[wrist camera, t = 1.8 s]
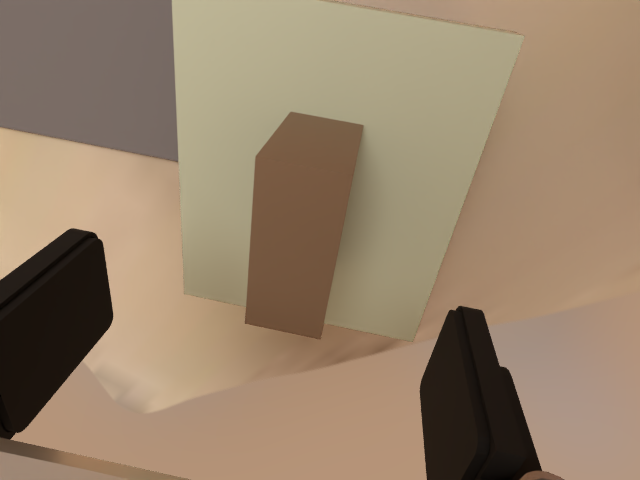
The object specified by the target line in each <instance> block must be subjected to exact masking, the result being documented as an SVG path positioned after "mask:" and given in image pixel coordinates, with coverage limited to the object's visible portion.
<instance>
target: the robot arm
mask: <svg viewBox="0 0 640 480" xmlns="http://www.w3.org/2000/svg"><path fill="white" fill-rule="evenodd" d="M112 320H113V309H112V302H111V295H110V289H109V282H108V275H107V268H106V261H105V254H104V247H103V242H102V241H101V240H100V239H98V237H97V235H96V234H95V233H93V232H89V231H84V230H79V229H69V230H67V231H66V232H65V233H63V234H62V235H61V236H59V237H58V238H57V239H55V240H54V241H52V242H51V243H50V244H48V245H47V246H46V247H44V248H43V249H42V250H40V251H39V252H38V253H36V254H35V255H34V256H32V257H31V258H30V259H28V260H27V261H26V262H24V263H23V264H22V265H20V266H19V267H18V268H16V269H15V270H14V271H12V272H11V273H10V274H8V275H7V276H5V277H4V278H3V279H1V280H0V480H189V479H185V478H181V477H176V476H172V475H167V474H163V473H159V472H154V471H150V470H145V469H141V468H136V467H132V466H127V465H122V464H118V463H114V462H109V461H104V460H100V459H96V458H91V457H87V456H82V455H77V454H73V453H68V452H64V451H59V450H54V449H49V448H45V447H41V446H36V445H32V444H27V443H23V442H18V441H13V440H10V439H11V438H12V437H13V436H14V435H15V433H16V432H17V433H19V432H21V431H23V430H24V429H25V428H26V427H27V426H28V425H29V424H30V423H31V421H32V420H33V419H34V418H35V417H36V415H37V414H38V413H39V412H40V411H41V409H42V408H43V407H44V406H45V405H46V403H47V402H48V401H49V400H50V399H51V397H52V396H53V395H54V393H56V391H57V390H58V389H59V388H60V386H61V385H62V384H63V383H64V382H65V380H66V379H67V378H68V377H69V376H70V374H71V373H72V372H73V371H74V369H75V368H76V367H77V366H78V365H79V364H80V362H81V361H82V360H83V359H84V358H85V356H86V355H87V354H88V353H89V352H90V350H91V349H92V348H93V347H94V345H95V344H96V343H97V342H98V341H99V339H100V338H101V337H102V336H103V335H104V333H105V332H106V331H107V330H108V329H109V327H110V325H111V323H112ZM420 400H421V413H422V425H423V437H424V449H425V462H426V473H427V480H564V479H562V478H561V477H559V476H556V475H554V474H551V473H549V472H544V471H542V469H541V466H540V463H539V460H538V457H537V454H536V450H535V448H534V444H533V441H532V438H531V435H530V432H529V429H528V426H527V423H526V420H525V416H524V413H523V410H522V407H521V404H520V401H519V398H518V395H517V392H516V389H515V386H514V382H513V379H512V376H511V374H510V372H509V370H508V369H507V368H505V367H500V366H499V363H498V359H497V356H496V353H495V350H494V346H493V343H492V339H491V336H490V333H489V330H488V326H487V323H486V319H485V316H484V313H483V311H482V310H478V309H473V308H468V307H463V306H459V307H458V308H457V309H456V311H455V310H450V311H449V312H448V314H447V317H446V319H445V322H444V324H443V327H442V329H441V332H440V334H439V337H438V340H437V342H436V345H435V347H434V350H433V352H432V355H431V357H430V360H429V362H428V365H427V367H426V370H425V372H424V375H423V378H422V381H421V385H420Z"/></svg>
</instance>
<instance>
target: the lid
mask: <svg viewBox="0 0 640 480" xmlns="http://www.w3.org/2000/svg"><path fill="white" fill-rule="evenodd" d="M172 18H173V42H174V66H175V90H176V113H177V137H178V161H179V184H180V208H181V232H182V256H183V279H184V294H186V295H191V296H196V297H201V298H205V299H210V300H215V301H220V302H224V303H229V304H234V305H239V306H243V307H246V316H245V324H250V325H255V326H259V327H264V328H269V329H273V330H278V331H283V332H288V333H292V334H297V335H302V336H306V337H311V338H316V339H321V335H322V330H323V325H324V324H329V325H334V326H338V327H343V328H348V329H353V330H357V331H362V332H367V333H371V334H376V335H381V336H386V337H390V338H395V339H400V340H405V341H409V342H413V340H414V338H415V335H416V332H417V329H418V327H419V324H420V321H421V319H422V316H423V313H424V310H425V308H426V305H427V302H428V299H429V297H430V294H431V291H432V289H433V286H434V283H435V280H436V278H437V275H438V272H439V269H440V267H441V264H442V261H443V258H444V256H445V253H446V250H447V248H448V245H449V242H450V239H451V237H452V234H453V231H454V228H455V226H456V223H457V220H458V218H459V215H460V212H461V209H462V207H463V204H464V201H465V198H466V196H467V193H468V190H469V187H470V185H471V182H472V179H473V177H474V174H475V171H476V168H477V166H478V163H479V160H480V157H481V155H482V152H483V149H484V147H485V144H486V141H487V138H488V136H489V133H490V130H491V127H492V125H493V122H494V119H495V116H496V114H497V111H498V108H499V106H500V103H501V100H502V97H503V95H504V92H505V89H506V86H507V84H508V81H509V78H510V76H511V73H512V70H513V67H514V65H515V62H516V59H517V56H518V54H519V51H520V48H521V45H522V43H523V40H524V37H525V36H524V35H521V34H519V33H517V32H513V31H507V30H501V29H495V28H489V27H484V26H478V25H472V24H466V23H460V22H454V21H449V20H443V19H437V18H431V17H425V16H419V15H414V14H408V13H402V12H396V11H390V10H385V9H379V8H373V7H367V6H361V5H355V4H350V3H344V2H338V1H332V0H172Z"/></svg>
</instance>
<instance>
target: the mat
mask: <svg viewBox="0 0 640 480" xmlns="http://www.w3.org/2000/svg"><path fill="white" fill-rule="evenodd" d="M0 127H4V128H9V129H14V130H19V131H24V132H30V133H35V134H40V135H45V136H50V137H55V138H60V139H66V140H71V141H76V142H81V143H86V144H91V145H96V146H102V147H107V148H112V149H117V150H122V151H127V152H132V153H138V154H143V155H148V156H153V157H158V158H163V159H168V160H173V161H178V137H177V113H176V90H175V66H174V42H173V18H172V0H0Z"/></svg>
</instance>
